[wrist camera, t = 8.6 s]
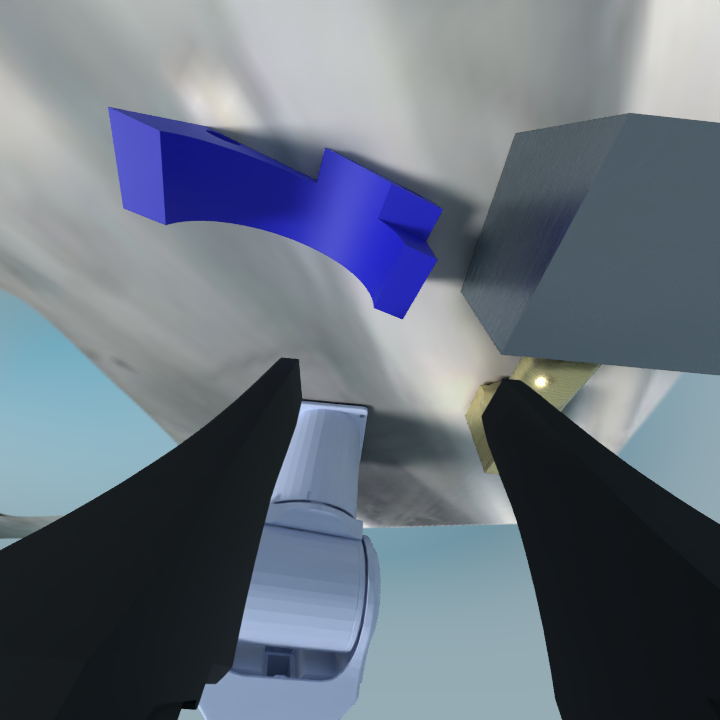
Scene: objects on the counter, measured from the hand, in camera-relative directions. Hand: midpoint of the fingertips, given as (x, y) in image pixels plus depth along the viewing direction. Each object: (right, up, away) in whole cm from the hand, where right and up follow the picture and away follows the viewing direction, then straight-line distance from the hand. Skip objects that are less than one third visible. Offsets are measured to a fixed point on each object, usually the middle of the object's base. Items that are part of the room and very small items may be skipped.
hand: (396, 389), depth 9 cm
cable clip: (-4, +10, +5) cm, 12 cm away
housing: (+12, +8, +5) cm, 15 cm away
